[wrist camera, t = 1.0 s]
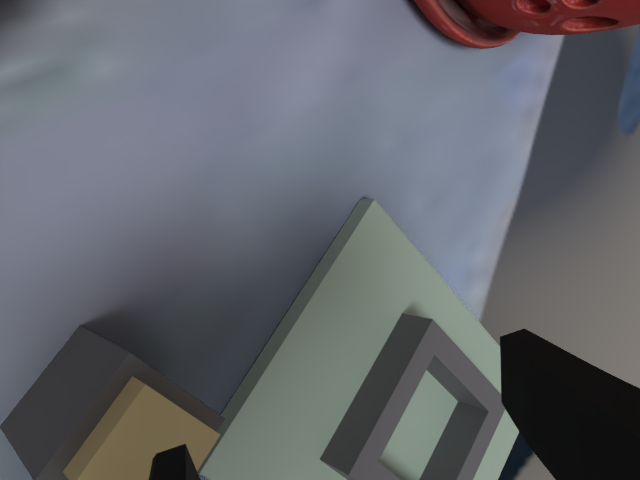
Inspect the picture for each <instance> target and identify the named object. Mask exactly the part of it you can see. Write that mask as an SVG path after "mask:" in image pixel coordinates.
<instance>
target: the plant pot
mask: <svg viewBox="0 0 640 480" xmlns="http://www.w3.org/2000/svg"><path fill="white" fill-rule="evenodd" d="M414 1H415V2H416V4H417V5H418V7H419V8H420V10H421V11H422V12H423V13H424V15H425V16H426V17H427V18H428V19H429V21H430V22H431V23H432V24H433V25H434V26H435V27H437V28H438V29H439V30H440V31H441V32H442V33H443V34H445V35H446V36H448V37H449V38H451V39H453V40H454V41H456V42H458V43H460V44H462V45H465V46H468V47H472V48H480V49H485V48H494V47H498V46H501V45H503V44H505V43H507V42H509V41H511V40H512V39H513V38H515V37H516V36H517V35H518V34H519V33H520V32H526V33H533V34H545V35H569V34H583V33H591V32H599V31H606V30H613V29H617V28H623V27H628V26H633V25H637V24H640V0H414Z"/></svg>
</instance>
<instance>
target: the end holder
mask: <svg viewBox="0 0 640 480" xmlns="http://www.w3.org/2000/svg"><path fill="white" fill-rule="evenodd" d="M221 416H222V417H224V418H225V420H224V421H223V423H222V424H221V426H220V428H219V429H218V431H217V433H219V434H220V436H219V438H218V439H217V441H216V443H215V444H214V446H213V447H212V449H211V450H210V452H209V453H208V455H207V457H206V458H205V460H204V461H203V463H202V464H201V466H200V467H199V469H198V471H197V472H198V473H199V474H201V475H203V476H204V477H206V478H208V479H209V480H498V478H499V476H500V473H501V471H502V469H503V467H504V464H505V462H506V460H507V458H508V455H509V453H510V451H511V449H512V446H513V444H514V442H515V439H516V437H517V435H518V433H519V430H518V429H517V427H516V426H515V424H514V422H513V421H512V419H511V417H510V416H509V414H508V412H507V411H506V409H505V407H504V406H503V404H502V402H501V358H500V346H499V345H498V344H497V343H496V342H495V341H494V340H493V338H492V337H491V336H490V335H489V333H488V332H487V331H486V330H485V329H484V328H483V326H482V325H481V324H480V323H479V322H478V320H477V319H476V318H475V317H474V316H473V315H472V313H471V312H470V311H469V310H468V309H467V307H466V306H465V305H464V304H463V303H462V302H461V300H460V299H459V298H458V297H457V296H456V294H455V293H454V292H453V291H452V290H451V289H450V287H449V286H448V285H447V284H446V283H445V281H444V280H443V279H442V278H441V277H440V276H439V274H438V273H437V272H436V271H435V270H434V269H433V267H432V266H431V265H430V264H429V263H428V261H427V260H426V259H425V258H424V257H423V256H422V254H421V253H420V252H419V251H418V250H417V248H416V247H415V246H414V245H413V244H412V243H411V241H410V240H409V239H408V238H407V237H406V235H405V234H404V233H403V232H402V231H401V230H400V228H399V227H398V226H397V225H396V224H395V222H394V221H393V220H392V219H391V218H390V217H389V215H388V214H387V213H386V212H385V211H384V209H383V208H382V207H381V206H380V205H379V204H378V202H377V201H376V200H375V199H360V201H359V202H358V204H357V205H356V207H355V208H354V210H353V212H352V213H351V215H350V216H349V218H348V219H347V221H346V222H345V224H344V225H343V227H342V229H341V230H340V232H339V233H338V235H337V236H336V238H335V239H334V241H333V242H332V244H331V245H330V247H329V249H328V250H327V252H326V253H325V255H324V256H323V258H322V259H321V261H320V262H319V264H318V266H317V267H316V269H315V270H314V272H313V273H312V275H311V276H310V278H309V279H308V281H307V282H306V284H305V286H304V287H303V289H302V290H301V292H300V293H299V295H298V296H297V298H296V299H295V301H294V302H293V304H292V306H291V307H290V309H289V310H288V312H287V313H286V315H285V316H284V318H283V319H282V321H281V323H280V324H279V326H278V327H277V329H276V330H275V332H274V333H273V335H272V336H271V338H270V339H269V341H268V343H267V344H266V346H265V347H264V349H263V350H262V352H261V353H260V355H259V356H258V358H257V360H256V361H255V363H254V364H253V366H252V367H251V369H250V370H249V372H248V373H247V375H246V376H245V378H244V380H243V381H242V383H241V384H240V386H239V387H238V389H237V390H236V392H235V393H234V395H233V396H232V398H231V400H230V401H229V403H228V404H227V406H226V407H225V409H224V410H223V412H222V413H221Z"/></svg>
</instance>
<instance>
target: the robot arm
mask: <svg viewBox="0 0 640 480" xmlns="http://www.w3.org/2000/svg"><path fill="white" fill-rule="evenodd" d="M500 358H501V402H502V404H503V406H504V407H505V409H506V411H507V412H508V414H509V416H510V417H511V419H512V421H513V422H514V424H515V426H516V427H517V429H518V430H519V432H520V433H521V435H522V437H523V438H524V440H525V441H526V443H527V444H528V445H529V446H530V448H531V449H532V450H533V452H534V453H535V454H536V455H537V457H538V458H539V459H540V460H541V462H542V463H543V464H544V465H545V467H546V468H547V469H548V470H549V472H550V473H551V474H552V475H553V477H554V478H555V479H556V480H640V389H639V388H637V387H635V386H633V385H631V384H629V383H627V382H625V381H623V380H621V379H619V378H617V377H615V376H612V375H611V374H609V373H607V372H605V371H603V370H601V369H599V368H597V367H595V366H593V365H591V364H589V363H587V362H586V361H584V360H582V359H579V358H578V357H576V356H574V355H572V354H570V353H569V352H567V351H565V350H563V349H561V348H559V347H558V346H556V345H554V344H552V343H550V342H548V341H546V340H545V339H543V338H541V337H539V336H537V335H535V334H533V333H532V332H530V331H528V330H526V329H522V330H519V331H516V332H513V333H510V334H507V335H504V336H501V337H500ZM149 480H200V478H199V475H198V473H197V470H196V468H195V465H194V463H193V461H192V458H191V456H190V453H189V451H188V448H187V446H186V444H183V445H180V446H177V447H174V448H171V449H168V450H165V451H162V452H159V453H156V455H155V456H154V458H153V460H152V465H151V471H150V476H149Z"/></svg>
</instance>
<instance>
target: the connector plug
mask: <svg viewBox="0 0 640 480" xmlns="http://www.w3.org/2000/svg"><path fill="white" fill-rule="evenodd" d="M224 420H225V418H224V417H222V416H221V415H219V414H218V413H216V412H215V411H214V410H212V409H211V408H209V407H208V406H206V405H205V404H203V403H202V402H201V401H199V400H198V399H196V398H195V397H193V396H192V395H191V394H189V393H188V392H186V391H185V390H183V389H182V388H181V387H179V386H178V385H176V384H175V383H173V382H172V381H171V380H169V379H168V378H166V377H165V376H163V375H162V374H161V373H159V372H158V371H156V370H155V369H153V368H152V367H150V366H149V365H148V364H146V363H145V362H143V361H142V360H140V359H139V358H138V357H136V356H135V355H133V354H132V353H130V352H129V351H127V350H125V349H123V348H121V347H119V346H117V345H115V344H114V343H112V342H110V341H108V340H106V339H104V338H102V337H100V336H99V335H97V334H95V333H93V332H91V331H89V330H87V329H85V328H83V327H82V326H79V327H78V328H77V330H76V331H75V332H74V334H73V335H72V336H71V337H70V339H69V340H68V341H67V342H66V344H65V345H64V346H63V347H62V349H61V350H60V351H59V352H58V354H57V355H56V356H55V358H54V359H53V360H52V361H51V363H50V364H49V365H48V366H47V368H46V369H45V370H44V371H43V373H42V374H41V375H40V376H39V378H38V379H37V380H36V381H35V383H34V384H33V385H32V387H31V388H30V389H29V390H28V392H27V393H26V394H25V395H24V397H23V398H22V399H21V400H20V402H19V403H18V404H17V405H16V407H15V408H14V409H13V411H12V412H11V413H10V414H9V416H8V417H7V418H6V419H5V421H4V422H3V423H2V424H1V426H0V428H1V429H2V431H3V432H4V434H5V436H6V437H7V439H8V440H9V442H10V443H11V445H12V447H13V448H14V450H15V451H16V453H17V454H18V456H19V458H20V459H21V461H22V462H23V464H24V465H25V467H26V469H27V470H28V472H29V473H30V475H31V476H32V478H33V480H149V476H150V471H151V465H152V460H153V458H154V456H155V455H156V453H159V452H162V451H165V450H168V449H171V448H174V447H177V446H180V445H183V444H186V446H187V448H188V451H189V453H190V456H191V458H192V461H193V463H194V465H195V468H196V470H197V471H198V469H199V467H200V466H201V464H202V463H203V461H204V460H205V458H206V457H207V455H208V453H209V452H210V450H211V449H212V447H213V446H214V444H215V443H216V441H217V439H218V438H219V436H220V434H219V433H217V431H218V429H219V428H220V426H221V424H222V423H223V421H224Z"/></svg>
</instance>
